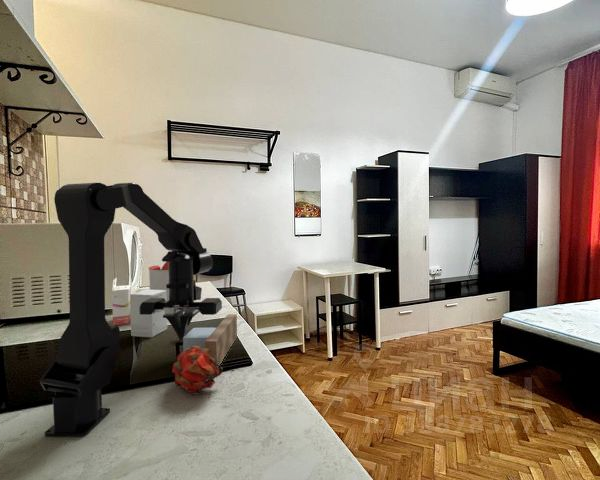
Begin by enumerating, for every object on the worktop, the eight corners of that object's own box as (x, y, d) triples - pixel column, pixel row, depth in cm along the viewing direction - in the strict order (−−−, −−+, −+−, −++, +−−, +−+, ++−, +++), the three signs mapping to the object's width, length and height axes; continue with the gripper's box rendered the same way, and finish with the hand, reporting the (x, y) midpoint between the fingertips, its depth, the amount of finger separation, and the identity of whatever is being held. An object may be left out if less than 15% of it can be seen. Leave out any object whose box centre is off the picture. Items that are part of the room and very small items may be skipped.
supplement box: (152, 338, 87) (151, 295, 87) (130, 336, 89) (128, 294, 88) (168, 329, 95) (167, 289, 94) (147, 327, 96) (146, 288, 96)
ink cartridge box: (130, 323, 100) (128, 280, 99) (112, 326, 98) (111, 281, 97) (132, 316, 108) (131, 276, 107) (116, 318, 106) (114, 277, 105)
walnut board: (216, 372, 67) (216, 341, 67) (205, 372, 67) (205, 341, 67) (237, 338, 87) (236, 314, 87) (228, 338, 87) (228, 314, 87)
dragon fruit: (185, 380, 66) (213, 412, 58) (153, 370, 61) (179, 403, 52) (208, 345, 69) (237, 370, 60) (179, 332, 63) (207, 358, 55)
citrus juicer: (183, 301, 129) (182, 255, 128) (199, 309, 116) (198, 258, 115) (143, 308, 119) (142, 257, 118) (156, 318, 106) (154, 261, 105)
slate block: (212, 362, 72) (212, 337, 72) (183, 362, 72) (183, 337, 72) (220, 350, 79) (220, 327, 79) (194, 350, 79) (193, 327, 79)
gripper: (227, 272, 82) (227, 328, 83) (159, 272, 83) (161, 328, 84) (214, 280, 71) (215, 344, 72) (137, 280, 72) (138, 344, 72)
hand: (182, 339), depth 75 cm, fingers closed
